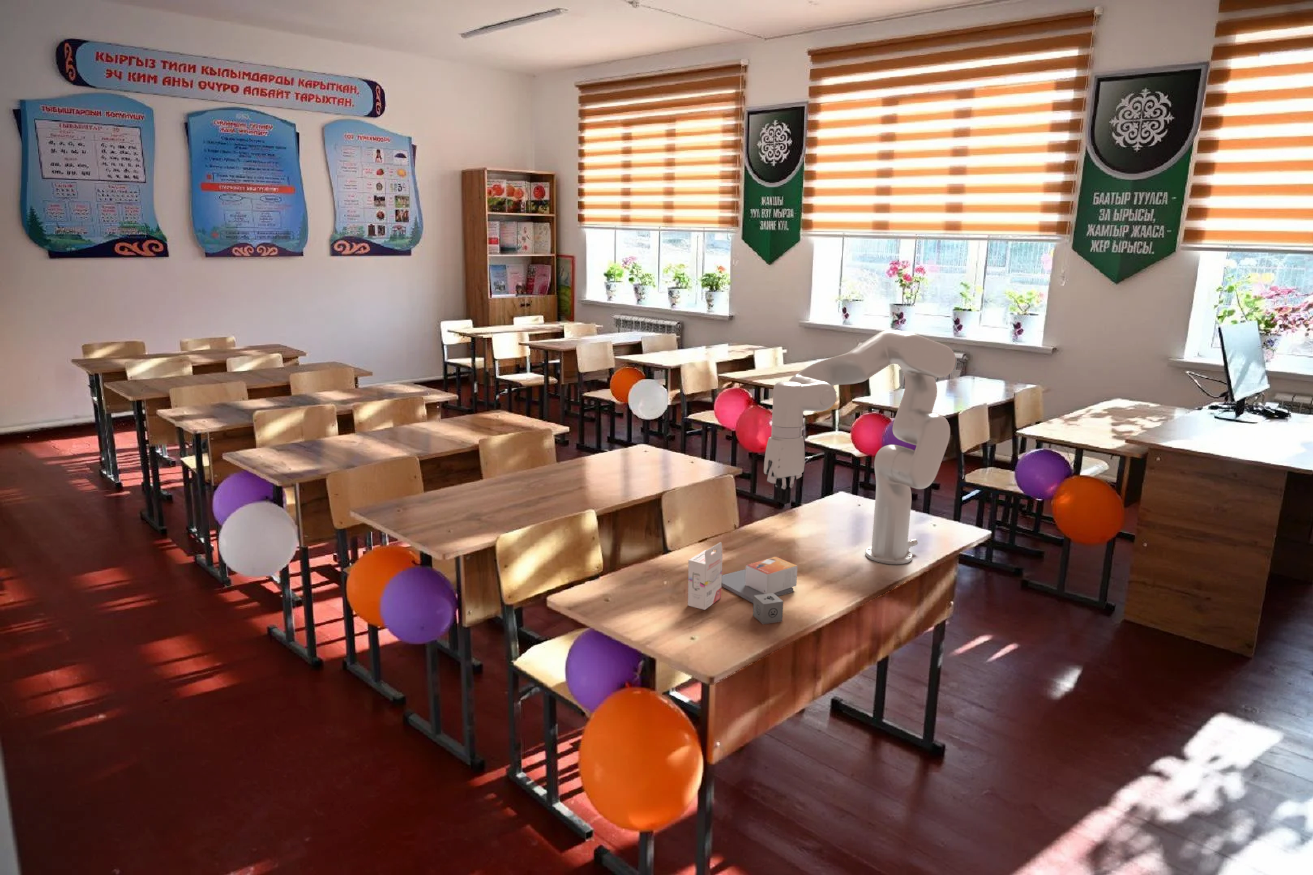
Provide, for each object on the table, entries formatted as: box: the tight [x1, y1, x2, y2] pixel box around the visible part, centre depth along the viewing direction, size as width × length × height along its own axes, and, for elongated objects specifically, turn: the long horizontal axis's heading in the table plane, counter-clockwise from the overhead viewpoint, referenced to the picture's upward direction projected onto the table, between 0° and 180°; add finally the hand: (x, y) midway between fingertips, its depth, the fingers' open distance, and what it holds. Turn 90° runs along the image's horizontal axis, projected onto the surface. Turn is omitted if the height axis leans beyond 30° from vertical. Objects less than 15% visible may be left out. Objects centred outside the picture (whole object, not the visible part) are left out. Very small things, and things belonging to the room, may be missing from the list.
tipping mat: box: [721, 568, 794, 604], centre depth 218 cm, size 13×16×1 cm
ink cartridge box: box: [687, 541, 723, 611], centre depth 207 cm, size 9×5×15 cm, turn 148°
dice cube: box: [752, 593, 784, 625], centre depth 200 cm, size 5×5×5 cm
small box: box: [745, 556, 798, 594], centre depth 215 cm, size 8×6×10 cm
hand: (783, 502), depth 218 cm, fingers closed
